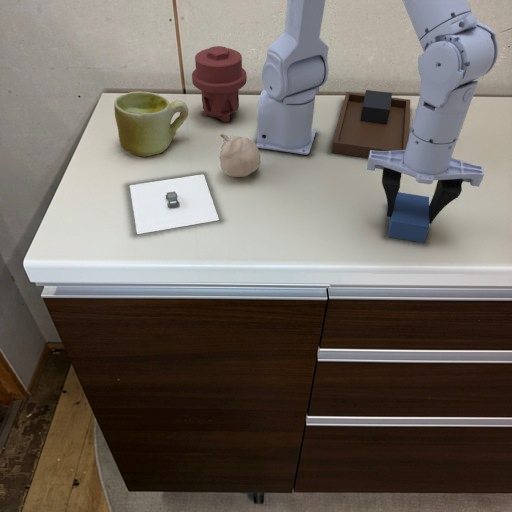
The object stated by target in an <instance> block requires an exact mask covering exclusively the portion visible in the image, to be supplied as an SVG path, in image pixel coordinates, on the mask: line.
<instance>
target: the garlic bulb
mask: <svg viewBox="0 0 512 512" xmlns="http://www.w3.org/2000/svg"><path fill="white" fill-rule="evenodd" d="M219 137H221V138H222V139H223V140H222V142H223V143H222V145H221V148H220V152H219V161H220V168H221V170H222V171H223V172H224V173H225V174H226V175H227V176H229V177H232V178H239V177H243V178H245V177H248V176H250V175H251V174H252V173H254V172H256V171H257V169H258V168H259V166H260V164H261V152H260V148H258V147H257V146H256V144H257V143H255V142H254V140H252V139H250V138H247V137H242V136H239V135H236V136H231V137H228V134H227V135H226V134H223V133H221V134H220V135H219Z"/></svg>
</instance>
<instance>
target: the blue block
mask: <svg viewBox="0 0 512 512" xmlns="http://www.w3.org/2000/svg"><path fill="white" fill-rule="evenodd" d="M429 205H430V196H427V195H426V196H425V195H419V194H412V193H406V192H400V191H398V194H397V197H396V200H395V204H394V210H393V213H392V216H391V217H389V220H388V221H389V222H388V229H387V230H388V231H387V232H388V233H387V237H388V238H393V239H400V240H405V241H410V242H416V243H422V244H424V243H425V241H426V238H427V235H428V233H429V229H430V224H429Z"/></svg>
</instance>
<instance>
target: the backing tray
mask: <svg viewBox="0 0 512 512" xmlns="http://www.w3.org/2000/svg"><path fill="white" fill-rule="evenodd" d="M364 98H365V93H358V92H350V91H346V92H345V95H344V99H343V102H342V107H341V109H340V114H339V117H338V121H337V126H336V129H335V133H334V137H333V140H332V147H331V153H333V154H339V155H346V156H354V157H359V158H367V159H368V158H369V154H370V150H372V151H398V150H406V146H407V143H408V139H409V135H410V117H411V116H410V115H411V99H409V98H400V97H392V98H391V107H390V113H389V117H388V122H387V125H386V124H379V123H371V122H364V121H360V119H361V113H362V108H363V103H364Z"/></svg>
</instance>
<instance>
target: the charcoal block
mask: <svg viewBox="0 0 512 512" xmlns="http://www.w3.org/2000/svg"><path fill="white" fill-rule="evenodd" d="M364 94H365V98H364V103H363V108H362V113H361V119H360V121H364V122H371V123H379V124H386V125H387V122H388V117H389V113H390V107H391V98H393V93H392V92H386V91H379V90H369V89H365V93H364Z"/></svg>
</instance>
